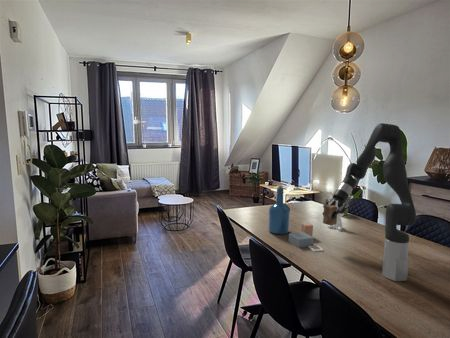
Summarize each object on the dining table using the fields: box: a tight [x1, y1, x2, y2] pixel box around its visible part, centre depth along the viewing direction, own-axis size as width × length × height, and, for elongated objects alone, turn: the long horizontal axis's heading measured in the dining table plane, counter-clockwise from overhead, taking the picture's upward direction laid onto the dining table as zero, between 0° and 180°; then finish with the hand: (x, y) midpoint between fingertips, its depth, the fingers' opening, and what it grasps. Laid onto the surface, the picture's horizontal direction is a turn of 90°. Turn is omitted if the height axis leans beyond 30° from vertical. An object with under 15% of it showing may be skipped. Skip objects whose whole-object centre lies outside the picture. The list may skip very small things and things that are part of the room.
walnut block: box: [322, 204, 337, 226], centre depth 166 cm, size 5×5×10 cm
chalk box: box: [340, 200, 349, 217], centre depth 235 cm, size 9×9×15 cm
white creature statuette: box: [327, 213, 344, 232], centre depth 201 cm, size 10×9×12 cm
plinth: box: [288, 231, 315, 249], centre depth 174 cm, size 10×10×5 cm
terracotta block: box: [300, 222, 314, 237], centre depth 185 cm, size 5×5×8 cm
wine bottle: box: [267, 184, 291, 235], centre depth 192 cm, size 14×13×30 cm
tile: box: [307, 245, 324, 253], centre depth 166 cm, size 6×6×1 cm
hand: (328, 216), depth 165 cm, fingers closed on walnut block, 5 cm apart
